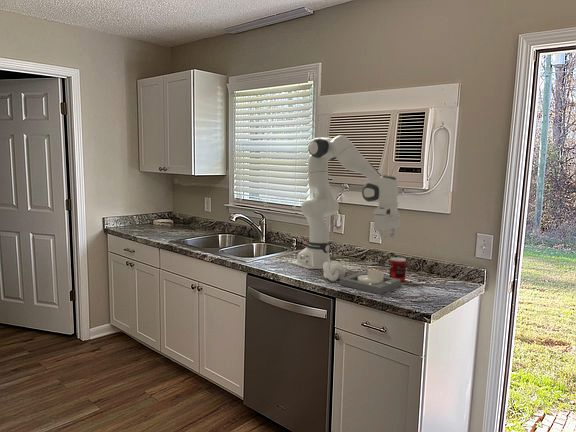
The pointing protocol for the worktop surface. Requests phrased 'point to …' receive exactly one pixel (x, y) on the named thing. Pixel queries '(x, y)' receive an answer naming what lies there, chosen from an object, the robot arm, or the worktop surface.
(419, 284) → the worktop surface
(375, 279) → the dial
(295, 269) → the worktop surface
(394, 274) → the canned food
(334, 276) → the white decorative knot
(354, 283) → the panel
